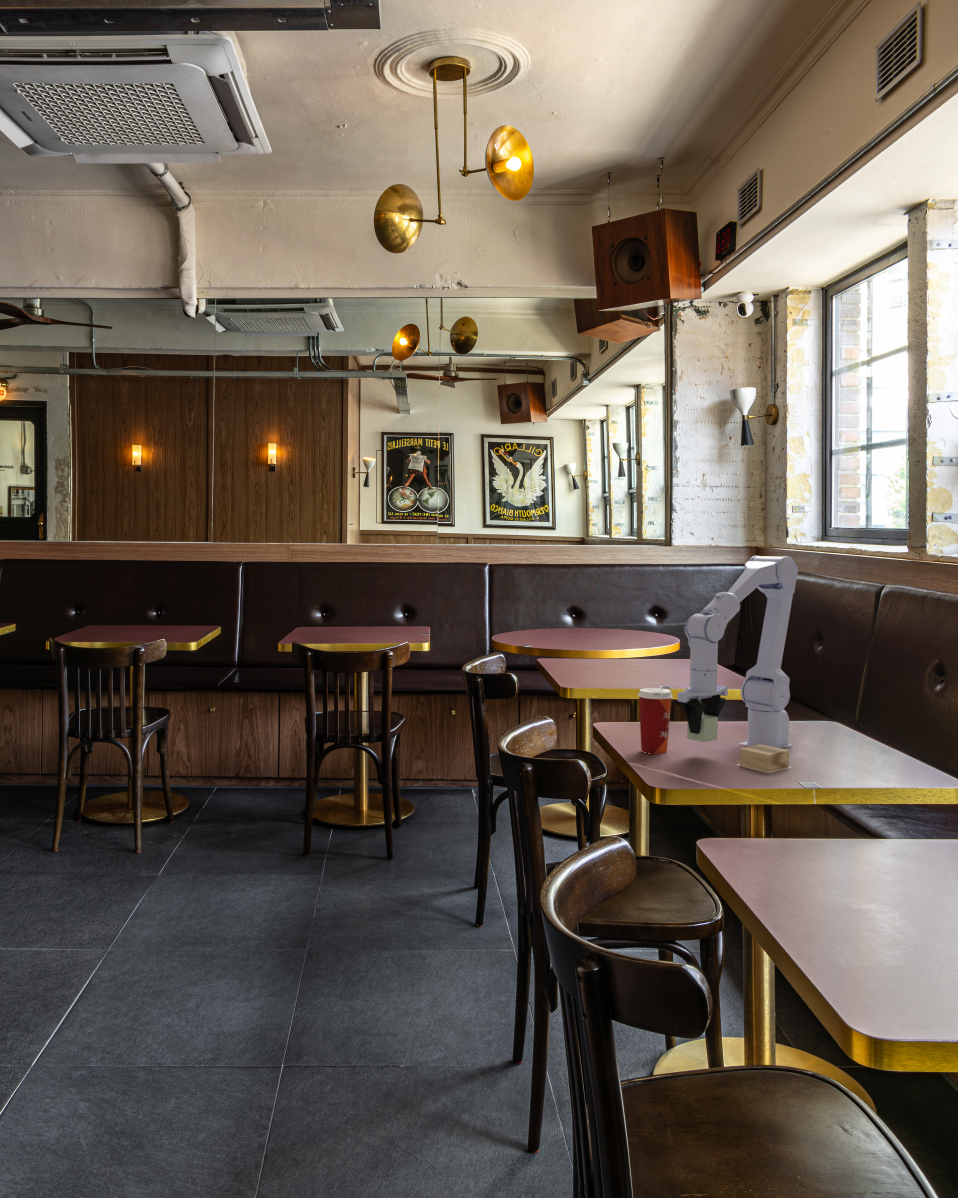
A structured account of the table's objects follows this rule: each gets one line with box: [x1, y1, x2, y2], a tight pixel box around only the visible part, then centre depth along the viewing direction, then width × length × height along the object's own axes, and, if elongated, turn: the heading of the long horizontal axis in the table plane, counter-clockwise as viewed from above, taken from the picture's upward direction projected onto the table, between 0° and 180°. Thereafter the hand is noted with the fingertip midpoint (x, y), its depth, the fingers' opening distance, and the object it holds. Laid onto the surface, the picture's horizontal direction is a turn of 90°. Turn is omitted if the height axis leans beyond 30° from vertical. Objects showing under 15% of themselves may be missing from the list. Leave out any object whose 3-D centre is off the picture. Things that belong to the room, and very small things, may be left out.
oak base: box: [739, 744, 790, 773], centre depth 181 cm, size 7×7×4 cm
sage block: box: [686, 713, 719, 743], centre depth 189 cm, size 4×4×5 cm
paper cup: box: [637, 687, 674, 755], centre depth 195 cm, size 8×8×14 cm
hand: (702, 731), depth 189 cm, fingers closed on sage block, 4 cm apart
